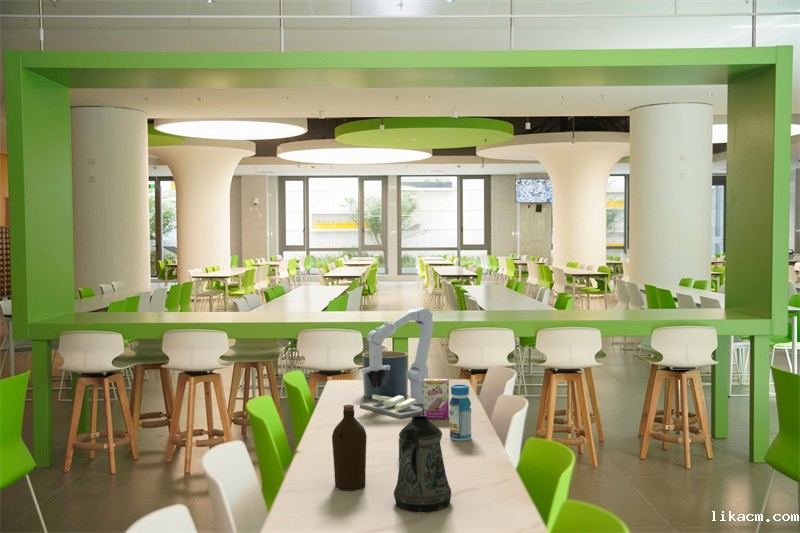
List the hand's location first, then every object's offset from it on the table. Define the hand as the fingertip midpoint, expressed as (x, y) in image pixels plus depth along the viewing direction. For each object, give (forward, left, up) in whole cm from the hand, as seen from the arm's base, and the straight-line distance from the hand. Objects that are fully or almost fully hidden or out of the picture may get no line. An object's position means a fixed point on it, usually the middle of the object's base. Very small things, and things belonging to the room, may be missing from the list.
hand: (376, 387), depth 352 cm
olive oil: (+72, +84, -10) cm, 111 cm away
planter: (-20, -21, -10) cm, 31 cm away
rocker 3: (-3, +17, -5) cm, 18 cm away
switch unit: (-3, +8, -9) cm, 13 cm away
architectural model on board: (+38, +74, -10) cm, 84 cm away
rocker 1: (-3, 0, -5) cm, 6 cm away
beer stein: (+66, +112, -10) cm, 131 cm away
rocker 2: (-3, +8, -5) cm, 11 cm away
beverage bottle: (+8, +64, -10) cm, 66 cm away
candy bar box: (-7, +32, -10) cm, 35 cm away
